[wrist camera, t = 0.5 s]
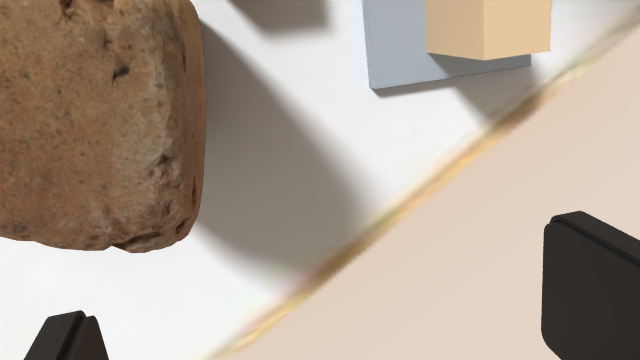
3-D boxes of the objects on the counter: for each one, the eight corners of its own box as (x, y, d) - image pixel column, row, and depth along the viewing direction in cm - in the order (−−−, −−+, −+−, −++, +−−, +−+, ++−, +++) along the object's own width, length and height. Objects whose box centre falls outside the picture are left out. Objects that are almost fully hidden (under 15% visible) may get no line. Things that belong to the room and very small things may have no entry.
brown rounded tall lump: (79, -8, 31) (-119, -53, 13) (203, -3, 33) (193, -37, 14) (96, 162, 34) (-41, 328, 16) (209, 159, 36) (207, 309, 17)
